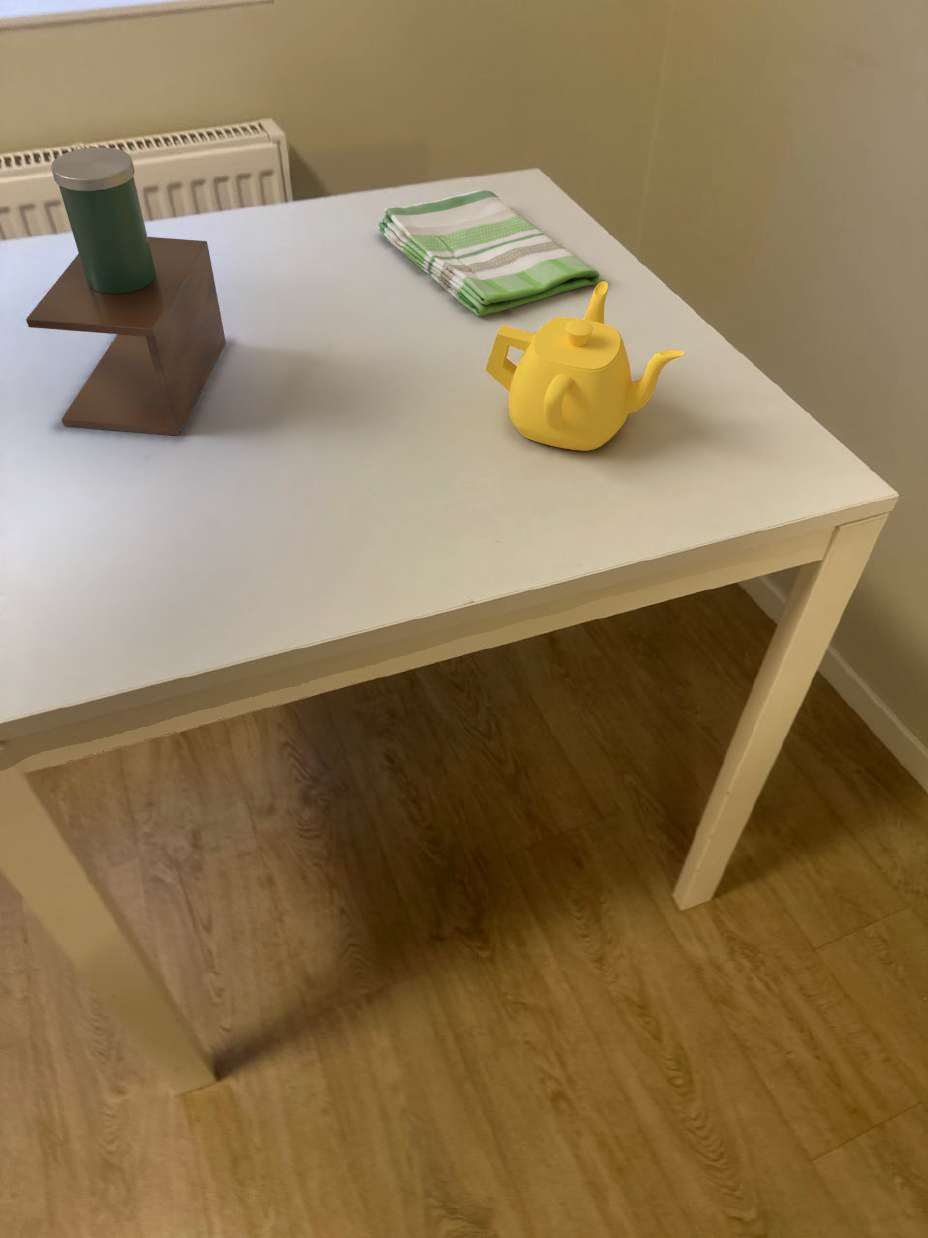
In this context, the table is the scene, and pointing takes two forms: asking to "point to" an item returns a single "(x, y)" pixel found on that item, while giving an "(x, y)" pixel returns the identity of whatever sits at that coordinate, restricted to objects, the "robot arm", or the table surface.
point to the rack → (143, 340)
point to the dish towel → (484, 251)
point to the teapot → (572, 378)
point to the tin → (105, 218)
